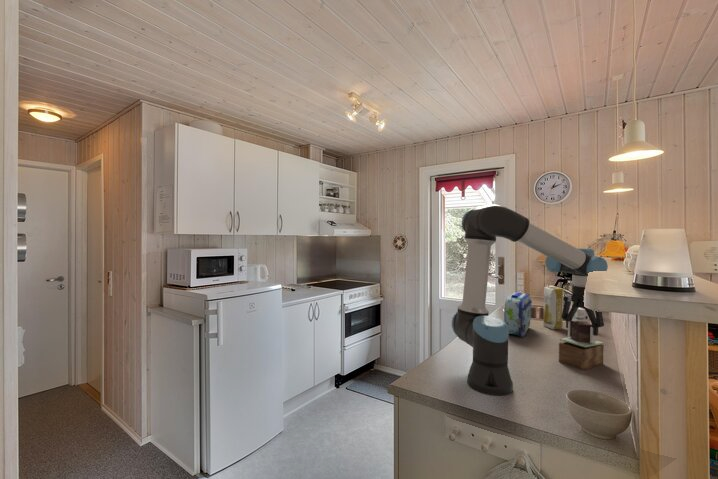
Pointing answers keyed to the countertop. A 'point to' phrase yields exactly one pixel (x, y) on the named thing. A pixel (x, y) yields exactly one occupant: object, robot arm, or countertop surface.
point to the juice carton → (553, 307)
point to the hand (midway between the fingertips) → (581, 339)
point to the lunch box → (518, 313)
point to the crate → (580, 355)
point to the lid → (583, 344)
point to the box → (580, 331)
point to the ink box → (579, 315)
